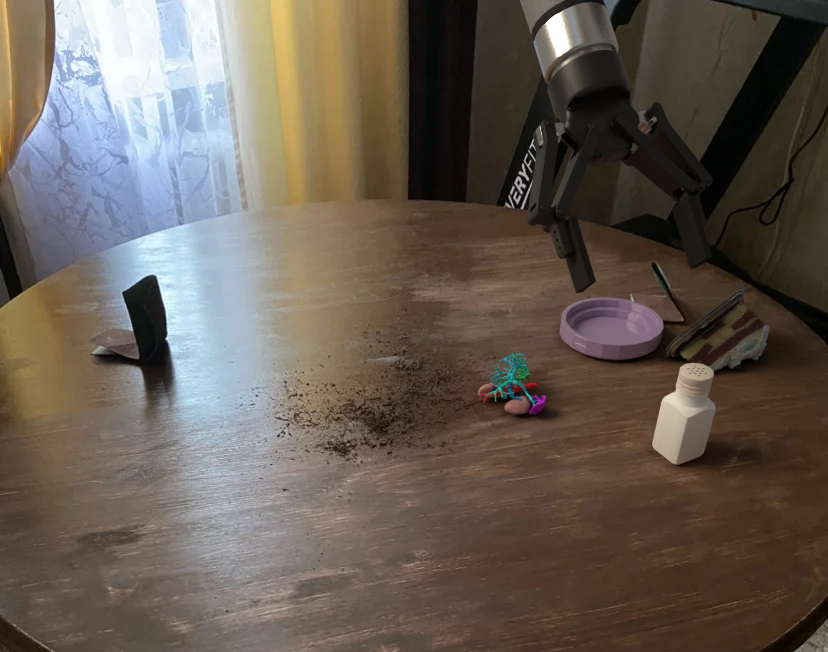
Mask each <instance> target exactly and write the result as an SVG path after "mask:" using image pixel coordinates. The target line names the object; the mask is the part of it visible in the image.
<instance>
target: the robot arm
mask: <svg viewBox="0 0 828 652" xmlns="http://www.w3.org/2000/svg"><path fill="white" fill-rule="evenodd" d="M519 2H520V4H521V8H522V11H523V13H524V17H525V20H526V24H527V27H528V29H529V33H530V35H531V36H530V37H531V39H532V42H533V46H534V49H535V53H536V56H537V60H538V63H539V65H540V66H539V67H540V70H541V72H542V76H543V79H544V82H545V84H547V85H548V86H547V94H548V97H549V100H550V104H551V107H552V110H553V114H554V117H555V120H556V122H555V120H554V119H553V118H552V117H549V116H547V117H545V118H544V119H543V120H542V121H541V123H540V124H539V126H538V127H537V128H536V129H535V131H534V132H533V134H532V139H533V143H534V144H533V145H534V149H535V160H534V167H533V174H532V179H531V180H532V181H531V187H530V195H529V200H528V201H529V202H528V209H527V214H526V222H527V224H528V225H529V226H531V227H535V226H537V225H539V226H541V229H542V231H543V232H544V233H546V234H550V235H551V239H552V242H553V245H554V249H555V252H556V255H557V256H558V258H559V259H560V260H564V259H565V261H566V265H567V269H568V272H569V275H570V278H571V282H572V285H573V288H574V291H575V294H581V293H583V292H586V290H588V289H589V288H590V287H591V286H593V285H594V284H595V283H596V282H597V279H596V276H595V273H594V270H593V267H592V263H591V260H590V257H589V256H590V255H589V253H588V249H587V246H586V244H585V240H584V236H583V234H582V230H581V226H580V223H579V220H578V217H577V215H575V216H570V217H568V218H567V216H568V214H569V212H570V209H571V207H572V204H573V202H574V199H575V197H576V194H577V192H578V190H579V188H580V185H581V182H582V179H583V177H584V174H585V172H586V170H587V168H588V165H590V167H591V168H594V167H599V166H601V165H603V164H610V165H613V164H618V163H619V162H622V163H623V164H624V165H626V166H628V167H633V168H635V169H636V170H637V171H638V172H640V174H642V175H643V176H644V177H645V178H647V179H648V180H650V182H652V183H653V184H654V185H655V186H656V187H658V188H659V189H660V190H661V191H663V193H665V194H666V195H667V196H668V197H670V198H671V199H672V200H673V201H674V202H675V203H676V205H674V206H673V207H672V208H671V211H672V215H673V217H674V221H675V223H676V227H677V229H678V230H677V231H678V234H679V238H680V240H681V243H682V247H683V251H684V253H685V258H686V260H687V264H688V267H689V269H690V270H691V269H692V270H693V269H696V268H698V267H700V266H701V265H703V264H704V263H706V262H707V261H709V260H710V259H711V258H713V254H712V251H711V248H710V244H709V240H708V238H707V234H706V232H705V228H706V227H707V218H706V215H705V212H704V209H703V205H702V202H701V198H700V195H701V193H703V192H704V191H705V190H706V189H708V188H709V187H710V186H711V185H712V184H713V181H714V180H713V177H712V175H711V173H710V172H709V171H708V170H707V169H706V167H705V166H704V165H703V164H702V162H701V161H700V160H699V159H698V158H697V156H696V155H695V154H694V153H693V151H692V149H690V147H689V146H688V144H687V143H685V141H684V139H683V138H682V137H681V136H680V135H679V133H678V132H677V131H676V130H675V128H674V127H673V126H672V125H671V124H670V122H669V120H668V117H667V115H666V111H665V110H664V107H663V106H662V104H661V103H660V102H658V101H656V102H655V101H654V102H653V103H652V104H651V105H650V106H649V107H648V108H646V109H644V110H640V111H637V110H636V108H635V107H634V106H633V104H632V102H631V85H630V81H629V77H628V74H627V70H626V67H625V64H624V61H623V58H622V56H621V54H620V53H619V44H618V43H619V42H618V40H617V37H616V34H615V31H614V27H613V24H612V21H611V18H610V15H609V12H608V9H607V6H606V3H605V0H519ZM561 141H562V143H564V144H565V145H566V146H567V147H568V148H569V149H570V150H571V151H572V152H571V155H570V157H569V159H568V161H567V164H566V166H565V172H564V174H563V177H562V179H561V182H560V184H559V186H558V189H557V191H556V194H555V196H554V198H553V201H552V203H551V199H552V193H553V192H552V191H553V185H554V177H555V171H556V163H557V156H558V149H559V143H560V142H561ZM633 145H635V146H636V147H635V148H634V149H633V150H632V148H633Z"/></svg>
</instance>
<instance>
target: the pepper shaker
mask: <svg viewBox="0 0 828 652" xmlns="http://www.w3.org/2000/svg"><path fill="white" fill-rule="evenodd" d="M714 377H715V370H714V371H713V370H712V369H711V368H710V367H708V366H706V365H703V364H698V363H689V362H688V363H684V364H683V365H682V366H680V367H679V372H678V375H677V379H676V384H675V391H673V392H671V393H669V394H667V395H665V396H664V397H663V398H662V400H661V402H660V407H659V412H658V416H657V420H656V425H655V429H654V434H653V438H652V443H651V444H652V445H651V446H652V448H653V450H654V451H656V452H657V453H658V454H660V455H661V456H662V457H663V458H665V459H666V460H668V461H669V463H671V464H673V465H677V466H678V465H681V464H684V463H687V462H690V461H693V460H695V459H697V458H701V456H702V455H703V454H704V453H705V451H706V447H707V444H708V440H709V436H710V432H711V429H712V425H713V421H714V419H715V418H714V417H715V415H716V410H717V407H716V404H715V403H714V401H712V400H711V398H709V397H708V396H709V394H710V392H711V389H712V384H713V382H714V381H713V380H714Z"/></svg>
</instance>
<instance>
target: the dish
mask: <svg viewBox="0 0 828 652" xmlns="http://www.w3.org/2000/svg"><path fill="white" fill-rule="evenodd" d="M559 325H560V326H559V335H560V337H561V339H562V341H563V342H564V343H565V344H566V345H568V346H569V347H570V348H571V349H572V350H574V351H577V352H578V353H580V354H583V355H585V356H588V357H591V358H594V359H600V360H606V361H626V360H632V359H636V358H639V357H643V356H647V355H649V354H650V353H652V352H654V351H656V350H657V349H658V347H659V346H660V344H661V343H662V337H663V332H664V320H663V319H662V317H661V316H660V314H659V313H657V312H656V311H655V310H653V309H652V308H651V307H650V306H647V305H645V304H641V303H639V302H637V301H633V300H629V299H624V298H619V297H618V298H617V297H607V296H605V297H591V298H586V299H581V300H578V301H575V302H573V303H570V305H567V306H566V308H564V309H563V311H562V312H561V318H560V324H559Z"/></svg>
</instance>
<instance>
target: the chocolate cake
mask: <svg viewBox="0 0 828 652" xmlns="http://www.w3.org/2000/svg"><path fill="white" fill-rule="evenodd" d="M746 288H747V284H744V285H743V286H741V287H740V288H738V289H737V290H736V291H735V292H734V293H732V294H731V295H730V296H728V297H727V298H725V299H724V300H723V301H721V302H720V303H719V304H718V305H716V306H715V307H714V308H713V309H711V310H710V311H709V312H707V314H706V315H704V316H703V317H701V318H700V319H698V320H697V321H696V322H694V323H693V325H692V326H690V327H688V329H687V330H684V331H682V332H681V333H680V334H679V335H678V336H676V337H675V338H674V340H672V341H671V342H670V343H669V344H668V346H666V350H665V352H664V356H665V357H673V358H678V357H679V356H681V357H682V358H683V359H686V360H687V361H688V363H698V364H703V365H706V366H708V367H710V368H711V369H712V370H713V371H714V372H715V371H718V370H721V369H723V367H728V369H731V370H732V369H733V370H735V371H740V370H741V369H742V365H741V363H742V361H743V360H746V359H747V360H748V359H751V360H752V361H757V360H759V358H760V357H761V356H762V355H763V353H764V351H765V349H766V346H767V345H768V343H767V340H768V337H769V334H770V329H771V327H770V325H769V324H768V323H767V322H766V321H765V320H764V319H763V318H761V317H760V316H759V315H758V314H757V313H755V311H753V310H752V309H751V308H750V307H749V306H747V305H746V304H745V300H744V294H745V289H746Z"/></svg>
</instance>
